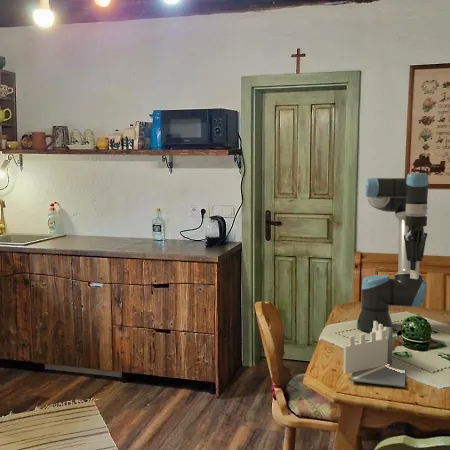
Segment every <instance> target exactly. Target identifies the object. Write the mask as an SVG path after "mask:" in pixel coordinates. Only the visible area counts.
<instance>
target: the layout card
mask: <svg viewBox="0 0 450 450" xmlns="http://www.w3.org/2000/svg"><path fill="white" fill-rule="evenodd" d="M349 380H350V382H357V383H364V384H365V383H367V384H375V385H384V386H389V387H390V386H391V387H392V386H393V387H400V388H405V387H406V373H400V372H397V371H395V370H392V369H389V368H387V367H386V366H385V365H383V366H379V367H374V368H370V369H366V370H361V371H357V372H352V373H351V375H350V379H349Z"/></svg>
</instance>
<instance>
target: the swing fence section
mask: <svg viewBox="0 0 450 450" xmlns="http://www.w3.org/2000/svg"><path fill="white" fill-rule="evenodd" d="M355 337H356V336H355V335H349V336H348V345H347V344H346V345H344V346H343V375H346V374H352V372H357V371H361V370H366V369H370V368H374V367H379V366H383V365H387V355H388V338H386V330H380V339H376V332H369V340H367V341H366V334H365V333H359V336H358V337H359V342H358V343H357V342H356V343H355Z"/></svg>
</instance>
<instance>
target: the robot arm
mask: <svg viewBox="0 0 450 450" xmlns="http://www.w3.org/2000/svg"><path fill="white" fill-rule="evenodd" d="M429 183H430V181H429V175H428V173H423V172H421V173H419V172H418V173H415V172H414V173H411V172H410V173H407V176H406V177H404V178H402V177H395V178H392V177H391V178H390V177H389V178H386V177H372V178H371V177H369V178H367V179H366V180H365V196H366V198H367V201H368V203H369V205H370V206H371V207H373V208H374V209H376V210H378V211H382V212H389V213H394V216H395V217H396V218H397V219H398V247H397V248H398V250H397V251H398V253H397V254H398V255H397V256H398V258H397V259H398V260H397V261H398V262H397V263H398V266H397V268H398V270H397V272H396V273H395V274H394V278H391V277H390V275H389V274H373V275H372V274H370V275H367V276H365V277H364V278H363V279H362V281H361V309H360V313H359V315H358V319H357V321H356V328H357V329H359V330H361V331H364V332H367V333H368V332H369V333H370V332H372V328H373V322H374V321H377V322H378V324H382V325H383V329H384V327H392V328H393V322H392V317H391V315H390V314H391V313H390V311H389V310H390V307H389V306H392V307H398V306H399V307H410V308H419V307H421V306H423V304H424V302H425V298H426V297H425V296H426V290H427V280H425V279H423V277H424V276H423V275H422V274H421V273H420V262H422V261H423V259H424V253H425V247H426V242H427V237H428V233H427V232H425V230H424V229H425V227H426V226H427V225H428V216H426V215H428V209H429V208H428V195H429Z"/></svg>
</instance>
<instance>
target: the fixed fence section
mask: <svg viewBox="0 0 450 450" xmlns="http://www.w3.org/2000/svg"><path fill="white" fill-rule="evenodd" d="M380 330H386V338H388V355H387V364H392V365H393V350H392V340H393V339H394V338H393V337H394V336H393V333H394V331H393V330H394V328H393V326H392V327H384V329H383V325H382V324H378V322H377V321H374V322H373V328H372V332H376V339H380Z"/></svg>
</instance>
